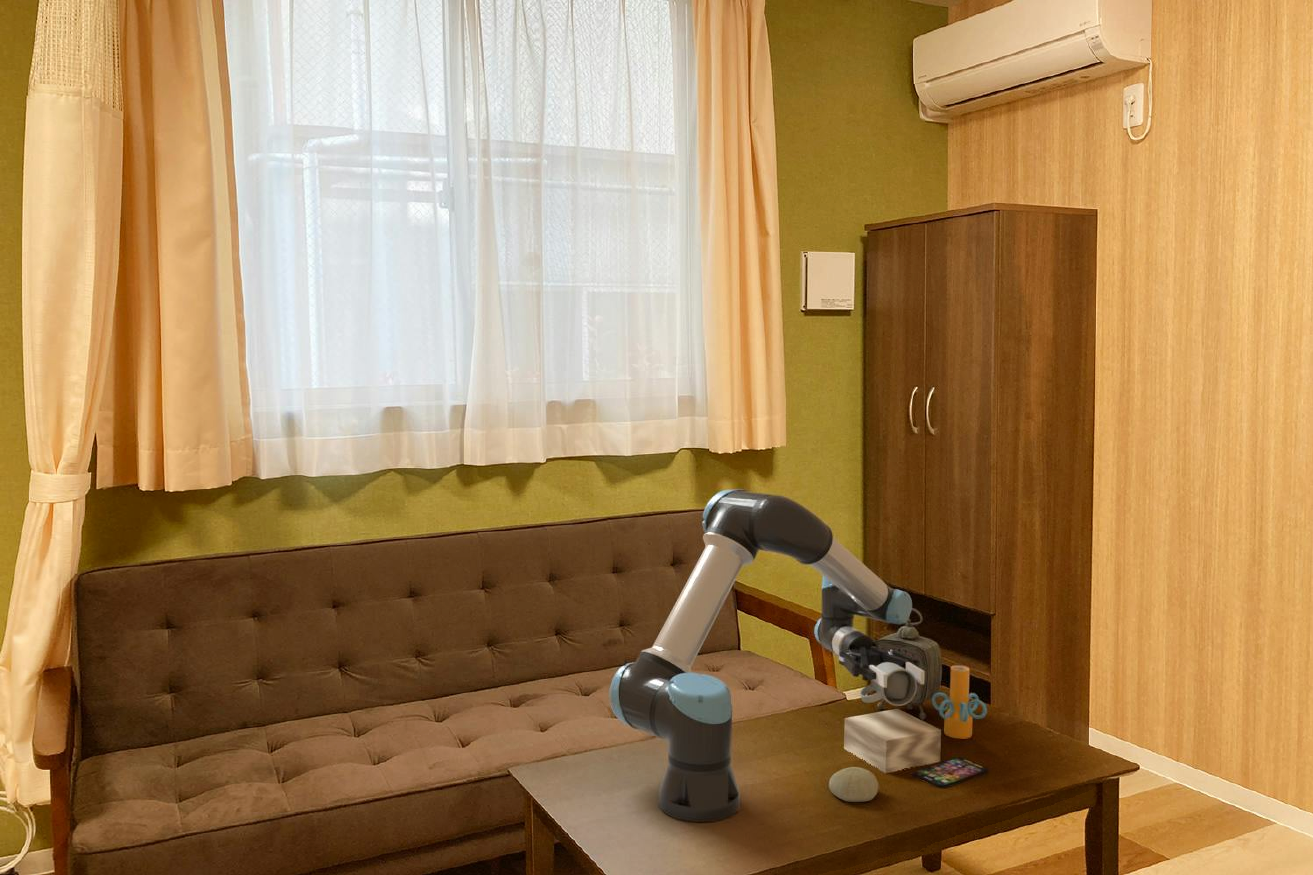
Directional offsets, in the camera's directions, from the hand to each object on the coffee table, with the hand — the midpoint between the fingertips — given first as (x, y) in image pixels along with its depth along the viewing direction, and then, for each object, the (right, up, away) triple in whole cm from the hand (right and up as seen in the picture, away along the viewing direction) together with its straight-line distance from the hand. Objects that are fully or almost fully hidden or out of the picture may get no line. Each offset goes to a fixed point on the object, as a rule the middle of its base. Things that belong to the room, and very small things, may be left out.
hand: (904, 679), depth 210 cm
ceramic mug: (-2, -6, +5) cm, 8 cm away
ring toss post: (+16, -17, +18) cm, 29 cm away
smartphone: (+9, -19, -3) cm, 21 cm away
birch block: (-1, -18, +6) cm, 19 cm away
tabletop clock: (+8, -15, +32) cm, 37 cm away
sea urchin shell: (-13, -19, -13) cm, 27 cm away
